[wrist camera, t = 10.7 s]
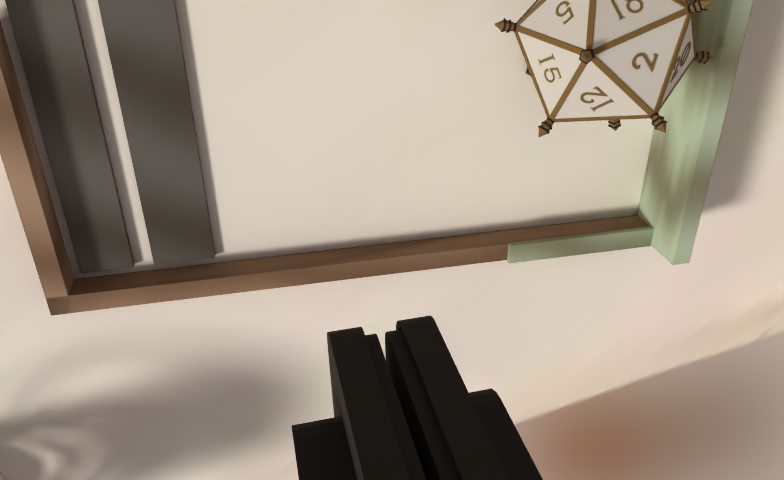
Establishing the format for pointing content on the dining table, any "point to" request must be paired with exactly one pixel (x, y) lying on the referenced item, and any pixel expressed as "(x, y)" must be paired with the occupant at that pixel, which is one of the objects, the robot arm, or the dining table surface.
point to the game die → (607, 56)
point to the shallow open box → (185, 181)
